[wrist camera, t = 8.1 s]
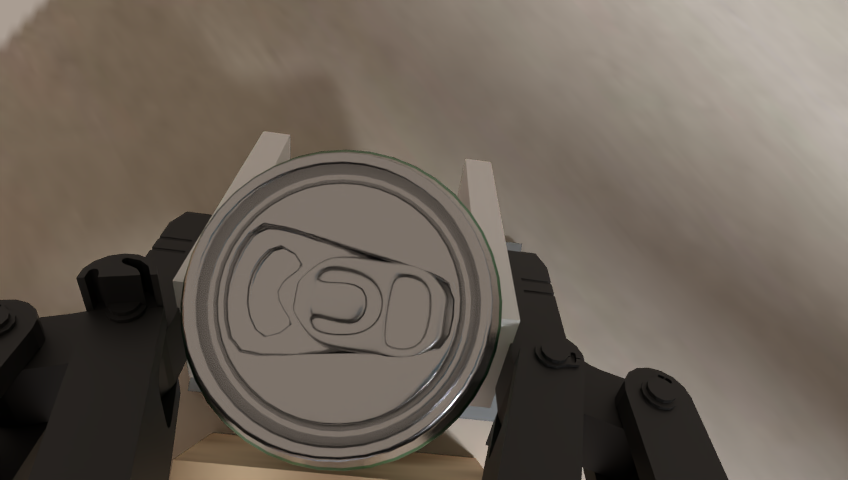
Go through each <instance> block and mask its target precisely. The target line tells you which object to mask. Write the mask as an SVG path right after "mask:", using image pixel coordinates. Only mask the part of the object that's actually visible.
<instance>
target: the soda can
mask: <svg viewBox="0 0 848 480" xmlns="http://www.w3.org/2000/svg"><path fill="white" fill-rule="evenodd" d="M180 310H181V333H182V338H183V344H184V349H185V354H186V358H187V361H188V363H189V366H190V369H191V371H192V374H193V377H194V380H195V382H196V383H197V385H198V387H199V389H200V390H201V392H202V394H203V396H204V397H205V399H206V401H207V403H208V404H209V405H210V407H211V408H212V409H213V410H214V411H215V413H216V414H217V415H218V416H219V417H220V419H221V420H222V421H223V422H224V424H225V425H227V426H228V427H229V428H230V429H231V430H232V431H234V432H235V433H236V434H237V435H238V436H239V437H241V438H242V439H243V440H244V441H245V442H247V443H249V444H250V445H252V446H254V447H255V448H257V449H259V450H260V451H262V452H264V453H265V454H267V455H269V456H272V457H274V458H277V459H279V460H282V461H284V462H287V463H289V464H292V465H297V466H301V467H306V468H311V469H316V470H330V471H349V470H358V469H366V468H372V467H376V466H379V465H382V464H386V463H389V462H393V461H396V460H398V459H400V458H402V457H405V456H407V455H409V454H411V453H413V452H415V451H417V450H419V449H421V448H422V447H424V446H425V445H427V444H428V443H430V442H431V441H433V440H434V439H435V438H437V437H438V436H440V435H441V434H442V433H443V432H444V431H445V430H447V429H448V428H449V427H450V426H451V425H452V424H453V423H454V422H455V421H456V420H457V419H458V418H459V417H460V416H461V415H462V413H463V412H464V411H465V410H466V408H467V407H468V406H469V404H470V403H471V402H472V401H473V399H474V398H475V397H476V395H477V393H478V391H479V389H480V388H481V386H482V384H483V382H484V380H485V379H486V377H487V375H488V372H489V370H490V367H491V364H492V361H493V359H494V356H495V353H496V350H497V345H498V340H499V335H500V330H501V321H502V295H501V286H500V277H499V273H498V270H497V266H496V262H495V259H494V255H493V252H492V250H491V248H490V246H489V243H488V241H487V239H486V237H485V234H484V232H483V231H482V229H481V227H480V226H479V224H478V223H477V221H476V220H475V218H474V217H473V215H472V213H471V212H470V211H469V210H468V209H467V207H466V206H465V205H464V204H463V203H462V202H461V201H460V199H459V198H458V197H457V196H456V195H455V194H454V193H453V192H452V191H450V190H449V189H448V188H447V187H446V186H444V185H443V184H442V183H441V182H440V181H438V180H437V179H436V178H434V177H432V176H431V175H429V174H428V173H426V172H424V171H423V170H421V169H419V168H418V167H416V166H413V165H411V164H409V163H406V162H404V161H401V160H399V159H396V158H394V157H390V156H386V155H382V154H378V153H373V152H367V151H356V150H334V151H321V152H316V153H312V154H307V155H302V156H298V157H296V158H293V159H290V160H288V161H285V162H282V163H280V164H277V165H275V166H273V167H271V168H269V169H268V170H266V171H264V172H262V173H260V174H259V175H257V176H255V177H253V178H252V179H251V180H250V181H248V182H247V183H246V184H244V185H243V186H242V187H241V188H239V189H238V190H237V191H235V192H234V193H233V194H232V195H231V196H230V197H229V198H228V200H227V201H226V202H225V203H224V204H223V205H222V206H221V207H220V208H219V209H218V210H217V211H216V213H215V214H214V216H213V217H212V219H211V220H210V221H209V223H208V224H207V226H206V227H205V229H204V230H203V232H202V234H201V236H200V238H199V240H198V242H197V244H196V246H195V248H194V250H193V252H192V254H191V257H190V261H189V264H188V267H187V270H186V274H185V277H184V282H183V289H182V297H181V304H180Z"/></svg>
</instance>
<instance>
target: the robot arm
mask: <svg viewBox="0 0 848 480" xmlns="http://www.w3.org/2000/svg"><path fill="white" fill-rule="evenodd" d="M288 160H290V135H289V134H282V133H274V132H267V131H263V133H262V134H261V136H260V138H259V139H258V141H257V143H256V144H255V146H254V147H253V149H252V151H251V152H250V154H249V156H248V157H247V159H246V161H245V162H244V164H243V166H242V167H241V169H240V170H239V172H238V174H237V175H236V177H235V179H234V180H233V182H232V184H231V185H230V187H229V189H228V190H227V192H226V194H225V195H224V197H223V198H222V200H221V202H220V203H219V205H218V207H217V208H216V210H215V212H214V213H213V215H209V214H201V213H193V212H186V213H184V214H183V215H181V216H179V217H178V218H176V219H175V220H173V221H171V222H170V223H169V224H168V226H167V227H166V229H165V230H164V231H163V233H162V234H161V236H160V239H158V240H157V241H156V243H155V244H154V245H153V247H152V250H150V251H149V252H148V254H147V255H146V257H143V256H141V255H135V254H118V255H111V256H107V257H104V258H102V259H99V260H96V261H94V262H92V263H91V264H89V265H88V266H86V267H85V268H83V270H82V271H81V272H80V274H79V275H78V276H77V281H78V285H79V288H80V291H81V294H82V297H83V301H84V304H85V307H86V310H87V311H85V312H80V313H74V314H67V315H58V316H49V317H40V318H39V316H38V314H37V311H36V309H35V308H34V307H33V306H31V305H30V304H29V303H27V302H23V301H19V300H0V480H169V474H170V466H171V459H172V451H173V444H174V437H175V429H176V422H177V415H178V407H179V400H180V386H179V380H178V377H179V375H180V373H181V370H182V368H183V366H184V364H185V362H186V361H187V358H186V354H185V349H184V344H183V338H182V333H181V310H180V304H181V297H182V289H183V282H184V277H185V274H186V270H187V267H188V264H189V261H190V257H191V254H192V252H193V250H194V248H195V246H196V244H197V242H198V240H199V238H200V236H201V234H202V232H203V230H204V229H205V227H206V226H207V224H208V223H209V221H210V220H211V219H212V217H213V216H214V214H215V213H216V211H217V210H218V209H219V208H220V207H221V206H222V205H223V204H224V203H225V202H226V201H227V200H228V198H229V197H230V196H231V195H232V194H233V193H234V192H235V191H237V190H238V189H239V188H241V187H242V186H243V185H244V184H246V183H247V182H248V181H250V180H251V179H252V178H253V177H255V176H257V175H259V174H260V173H262V172H264V171H266V170H268V169H269V168H271V167H273V166H275V165H277V164H280V163H282V162H285V161H288ZM458 198H459V199H460V201H461V202H462V203H463V204H464V205H465V206H466V207H467V209H468V210H469V211H470V212H471V213H472V215H473V217H474V218H475V220H476V221H477V223H478V224H479V226H480V227H481V229H482V231H483V232H484V234H485V237H486V239H487V241H488V243H489V246H490V248H491V250H492V252H493V255H494V259H495V262H496V266H497V270H498V273H499V277H500V286H501V295H502V321H501V330H500V335H499V340H498V345H497V350H496V353H495V356H494V359H493V361H492V364H491V367H490V370H489V372H488V375H487V377H486V379H485V380H484V382H483V384H482V386H481V388H480V389H479V391H478V393H477V395H476V397H475V398H474V399H473V401H472V402H471V403H470V404H469V406H475V407H485V408H490V407H491V404H492V402H493V399H494V396H495V393H496V402H497V410H498V411H497V414H496V417H495V420H494V422H493V425H492V428H491V431H490V434H489V436H488V439H487V442H486V445H488V451H487V456H486V461H485V466H484V471H483V476H482V480H581V476H582V467H583V469H584V474H585V478H586V480H728V478H727V476H726V473H725V471H724V469H723V467H722V465H721V462H720V460H719V458H718V456H717V453H716V451H715V449H714V447H713V445H712V442H711V440H710V438H709V436H708V434H707V431H706V429H705V427H704V425H703V423H702V420H701V418H700V416H699V414H698V412H697V409H696V407H695V405H694V403H693V401H692V398H691V397H690V395H689V394H688V392H687V391H686V389H685V388H684V387H683V386H682V385H681V384H680V383H679V382H678V381H676V380H675V379H674V378H673V377H671V376H669V375H667V374H665V373H663V372H662V371H659V370H655V369H651V368H636V369H634V370H632V371H630V372H629V373H628V374H627V376H626V378H625V379H624V378H621V377H618V376H615V375H613V374H610V373H607V372H605V371H602V370H599V369H597V368H595V367H593V366H591V365H589V364H588V363H586V362H585V361H584V357H583V355H582V353H581V352H580V351H579V349H578V348H577V346H575V345H574V344H573V343H572V342H570V341H569V340H568V339H566V336H565V333H564V329H563V325H562V322H561V318H560V314H559V311H558V307H557V303H556V300H555V296H554V292H553V288H552V285H551V284H550V282H551V281H550V277H549V274H548V270H547V267H546V266H545V265H544V263H543V262H542V261H541V260H540V259H539V257H538V256H537V255H536V254H534V253H526V252H518V251H510V250H507V246H506V241H505V235H504V230H503V224H502V219H501V213H500V208H499V203H498V197H497V192H496V186H495V181H494V176H493V170H492V165H491V162H488V161H481V160H474V159H466V158H465V163H464V168H463V173H462V177H461V182H460V187H459V192H458ZM187 367H188V373H189V377H193V374H192V371H191V369H190V366H189V363H188V361H187ZM193 378H194V377H193Z"/></svg>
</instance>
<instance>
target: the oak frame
mask: <svg viewBox="0 0 848 480" xmlns="http://www.w3.org/2000/svg"><path fill="white" fill-rule="evenodd" d="M483 471H484V469H483V468H482V466H481V465H480V464H479V462H478V461H477V460H476V458H470V457H459V456H449V455H438V454H428V453H417V452H413V453H411V454H409V455H407V456H405V457H402V458H400V459H398V460H396V461H393V462H389V463H386V464H382V465H379V466H376V467H372V468H366V469H358V470H349V471H330V470H316V469H311V468H306V467H301V466H297V465H292V464H289V463H287V462H284V461H282V460H279V459H277V458H274V457H272V456H269V455H267V454H265V453H264V452H262V451H260V450H259V449H257V448H255V447H254V446H252V445H250V444H249V443H247V442H245V441H244V440H243V439H242V438H241V437H239V436H238V435H229V434H219V433H212V434H210V435H209V436H207V437H206V438H204V439H203V440H201V441H200V442H198V443H197V444H195V445H194V446H192V447H191V448H190V449H188V450H187V451H185V452H184V453H182V454H181V455H179V456H178V457H176V458H175V459H173V462H172V467H171V473H170V479H169V480H482V476H483Z"/></svg>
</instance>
